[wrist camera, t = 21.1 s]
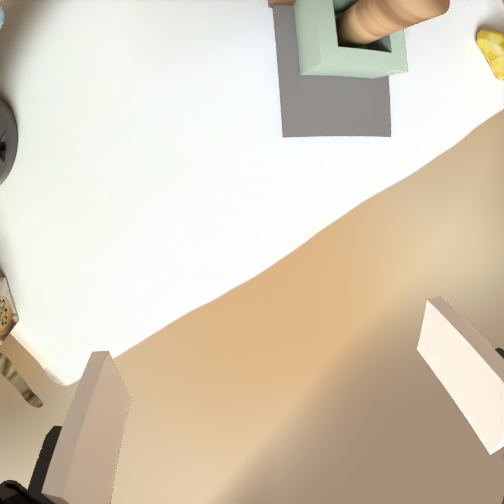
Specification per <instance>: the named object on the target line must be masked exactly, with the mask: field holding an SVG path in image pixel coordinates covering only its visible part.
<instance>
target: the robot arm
mask: <svg viewBox="0 0 504 504" xmlns="http://www.w3.org/2000/svg"><path fill="white" fill-rule="evenodd" d="M4 18H5V14H4V10H3V8H2V7H1V6H0V28H1V27H2V25H3V22H4ZM16 150H17V128H16V123H15V119H14V116H13V114H12V111H11V110H10V108H9V106H8V105H7V104H6V103H5V102H4V101H3V100H2V99H0V185H1V184H2V183H3V182H4V180H5V179H6V178H7V176H8V175H9V173H10V171H11V168H12V166H13V163H14V160H15V156H16ZM417 350H418V351H419V352H420V354H421V355H422V357H423V358H424V359H425V360H426V362H427V363H428V365H429V366H430V367H431V369H432V370H433V371H434V373H435V374H436V376H437V377H438V378H439V380H440V381H441V383H442V384H443V385H444V387H445V388H446V390H447V391H448V392H449V394H450V395H451V397H452V398H453V400H454V401H455V402H456V404H457V405H458V407H459V408H460V410H461V411H462V412H463V414H464V416H465V417H466V418H467V420H468V421H469V423H470V424H471V426H472V427H473V429H474V430H475V432H476V433H477V435H478V437H479V438H480V440H481V441H482V443H483V444H484V446H485V448H486V449H487V451H488V452H489V454H492V453H494V452H495V451H497V450H498V449H500V448H502V447H503V446H504V350H503V349H501V348H497V349H494V348H493V347H492V346H491V345H490V344H489V343H488V342H487V341H486V340H485V339H484V338H483V337H482V336H481V335H480V334H479V333H478V332H477V331H476V330H475V329H474V328H473V327H472V326H471V325H470V324H469V323H468V322H467V321H466V320H465V319H464V318H463V317H462V316H461V315H460V314H459V313H458V312H457V311H456V310H455V309H454V308H453V307H452V306H451V305H450V304H449V303H448V302H447V301H446V300H445V299H444V298H443V297H441V296H439V297H436V298H432V299H428V300H427V304H426V310H425V315H424V320H423V325H422V330H421V335H420V339H419V343H418V347H417ZM130 401H131V396H130V394H129V392H128V390H127V388H126V386H125V384H124V382H123V380H122V378H121V376H120V374H119V372H118V370H117V368H116V366H115V364H114V362H113V359H112V357H111V355H110V353H109V351H100V352H92V354H91V356H90V359H89V361H88V363H87V366H86V368H85V370H84V373H83V375H82V378H81V380H80V383H79V385H78V388H77V390H76V393H75V395H74V398H73V400H72V403H71V405H70V408H69V410H68V413H67V416H66V419H65V421H64V424H63V426H54V427H53V428H52V429H51V430H50V431H49V433H48V434H47V435H46V437H45V440H44V443H43V446H42V449H41V451H40V454H39V458H38V459H37V462H36V465H35V469H34V471H33V475H32V478H31V481H30V484H29V487H28V490H27V489H26V488H24V487H23V486H22V485H21V484H19V483H18V482H17V481H13V480H7V481H4V482H2V483H1V484H0V504H111V498H112V492H113V486H114V479H115V474H116V468H117V462H118V457H119V452H120V447H121V442H122V437H123V432H124V427H125V423H126V418H127V414H128V409H129V405H130ZM503 458H504V456H503ZM502 504H504V498H503V502H502Z"/></svg>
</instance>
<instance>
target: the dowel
mask: <svg viewBox="0 0 504 504" xmlns="http://www.w3.org/2000/svg"><path fill="white" fill-rule="evenodd" d="M449 5H450V0H359V1H358V2H356V3H355V4H354V5H352V6H351V7H350V8H348V9H347V10H346V11H345V12H343V13H342V14H341V15H340V16H338V17H337V18H336V19H335V24H336V33H337V42H338V47H347V48H360V47H362V46H364V45H366V44H368V43H371V42H373V41H375V40H378V39H380V38H382V37H385V36H387V35H389V34H392V33H394V32H397V31H399V30H402V29H404V28H407V27H409V26H412V25H415V24H417V23H420V22H423V21H425V20H428V19H431V18H434V17H437V16H439V15H442V14H444V13H446V12H447V10H448V8H449Z"/></svg>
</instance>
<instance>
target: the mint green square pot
mask: <svg viewBox="0 0 504 504" xmlns="http://www.w3.org/2000/svg"><path fill="white" fill-rule="evenodd" d="M358 1H359V0H297V1H296V2H295V4H294V5H293V6H294V15H295V25H296V35H297V45H298V57H299V69H300V75H321V76H344V77H359V78H371V79H374V78H378V77H383V76H388V75H393V74H398V73H403V72H408V64H407V54H406V45H405V37H404V29H402V30H399V31H397V32H394V33H392V34H389V35H387V36H385V37H382V38H380V39H378V40H375V41H373V42H371V43H368V44H366V45H364V46H362V47H360V48H347V47H338V42H337V33H336V24H335V19H336V18H337V17H338V16H340V15H341V14H342V13H343V12H345V11H346V10H347V9H348V8H350V7H351V6H352V5H354V4H355V3H356V2H358Z"/></svg>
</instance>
